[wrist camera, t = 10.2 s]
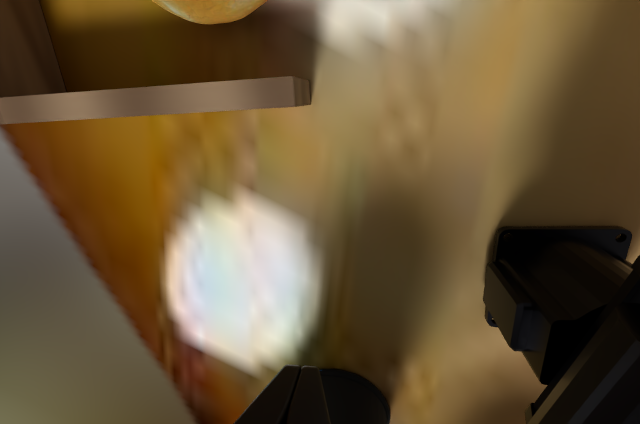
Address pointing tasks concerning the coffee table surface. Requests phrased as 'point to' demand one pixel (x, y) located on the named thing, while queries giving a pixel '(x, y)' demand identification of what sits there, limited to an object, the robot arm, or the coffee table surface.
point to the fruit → (210, 9)
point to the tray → (56, 104)
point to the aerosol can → (353, 399)
